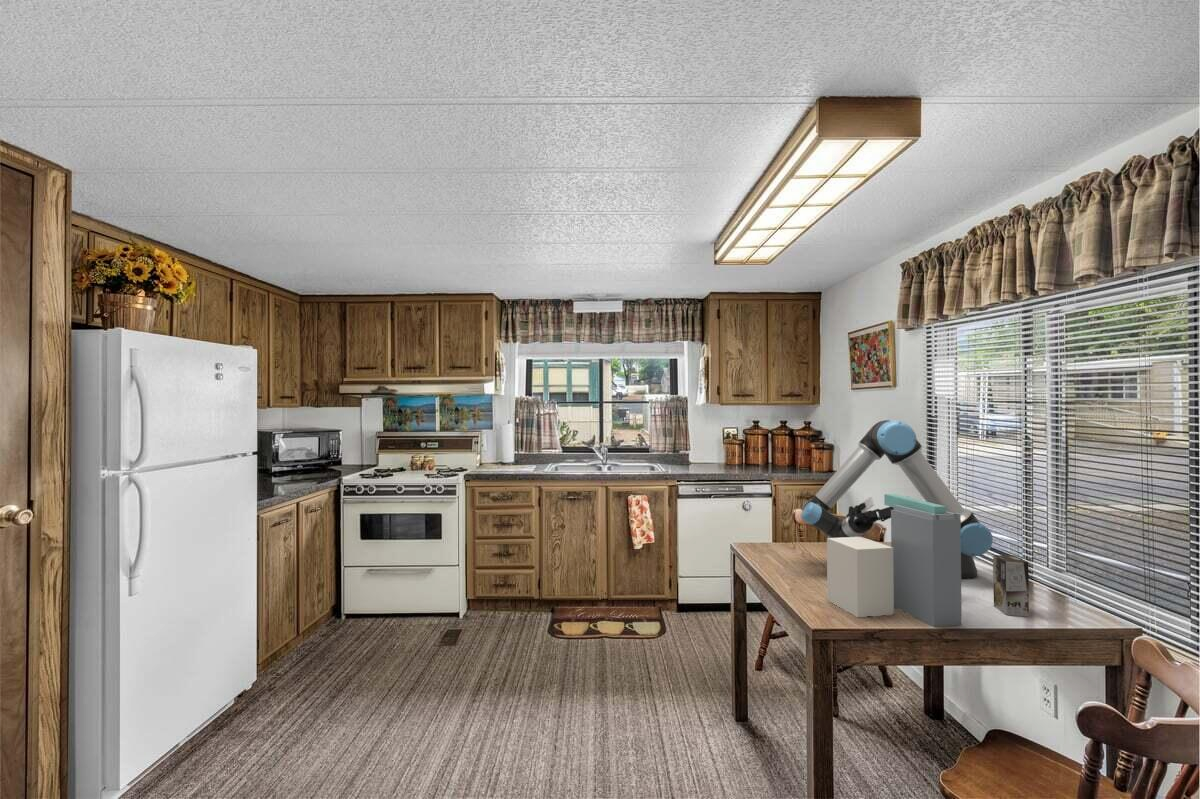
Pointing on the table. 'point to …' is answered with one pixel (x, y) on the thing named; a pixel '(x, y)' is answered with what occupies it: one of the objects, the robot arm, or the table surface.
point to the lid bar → (913, 504)
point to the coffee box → (1011, 585)
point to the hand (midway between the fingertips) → (891, 500)
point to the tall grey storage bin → (927, 565)
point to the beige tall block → (860, 576)
